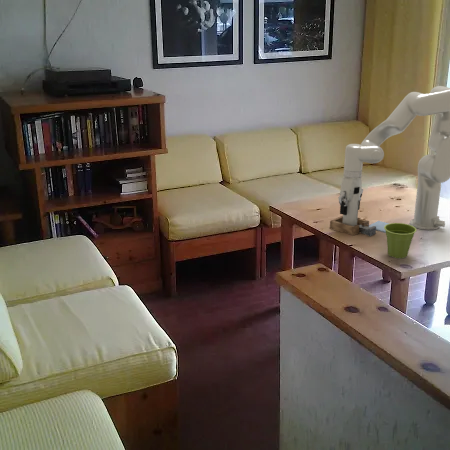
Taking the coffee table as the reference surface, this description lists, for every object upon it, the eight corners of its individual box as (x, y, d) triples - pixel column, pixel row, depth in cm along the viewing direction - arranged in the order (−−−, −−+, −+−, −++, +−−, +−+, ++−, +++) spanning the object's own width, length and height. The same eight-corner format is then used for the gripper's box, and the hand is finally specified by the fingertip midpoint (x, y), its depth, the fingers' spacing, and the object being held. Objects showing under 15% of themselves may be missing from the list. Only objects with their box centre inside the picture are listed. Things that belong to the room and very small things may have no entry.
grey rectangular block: (375, 233, 238) (376, 226, 237) (370, 236, 235) (370, 229, 234) (360, 229, 243) (361, 222, 242) (355, 232, 240) (355, 225, 239)
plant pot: (375, 252, 219) (377, 225, 215) (399, 247, 224) (402, 221, 220) (395, 263, 209) (398, 235, 205) (420, 258, 214) (423, 230, 210)
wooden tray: (368, 228, 244) (369, 221, 243) (354, 235, 236) (354, 227, 235) (344, 221, 252) (345, 214, 251) (329, 228, 245) (330, 220, 244)
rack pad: (398, 227, 245) (398, 226, 245) (386, 233, 238) (387, 232, 238) (378, 221, 252) (378, 220, 251) (366, 227, 245) (366, 226, 245)
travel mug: (338, 227, 246) (341, 183, 239) (352, 225, 248) (355, 182, 241) (345, 231, 241) (348, 187, 234) (359, 230, 242) (362, 185, 235)
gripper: (356, 168, 244) (353, 205, 250) (333, 175, 232) (330, 214, 238) (371, 171, 239) (368, 209, 245) (348, 179, 227) (345, 218, 233)
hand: (349, 211), depth 242 cm, fingers open, 9 cm apart
